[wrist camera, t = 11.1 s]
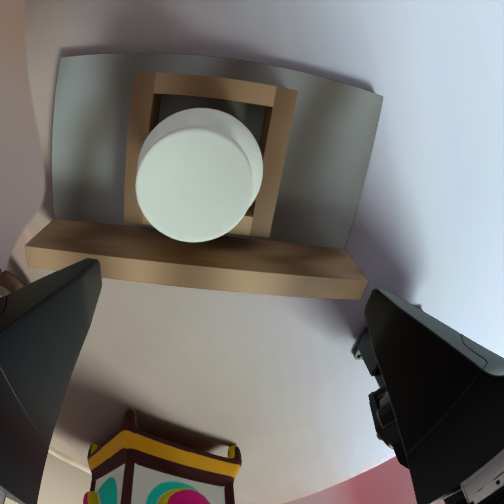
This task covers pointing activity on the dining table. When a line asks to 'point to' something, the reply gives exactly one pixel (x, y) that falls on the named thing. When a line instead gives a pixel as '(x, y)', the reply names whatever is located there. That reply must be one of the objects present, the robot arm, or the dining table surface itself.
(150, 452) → the decorative lantern
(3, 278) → the grey-brown curved piece
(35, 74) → the dining table surface
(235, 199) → the supplement bottle
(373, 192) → the dining table surface
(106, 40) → the dining table surface
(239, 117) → the board
